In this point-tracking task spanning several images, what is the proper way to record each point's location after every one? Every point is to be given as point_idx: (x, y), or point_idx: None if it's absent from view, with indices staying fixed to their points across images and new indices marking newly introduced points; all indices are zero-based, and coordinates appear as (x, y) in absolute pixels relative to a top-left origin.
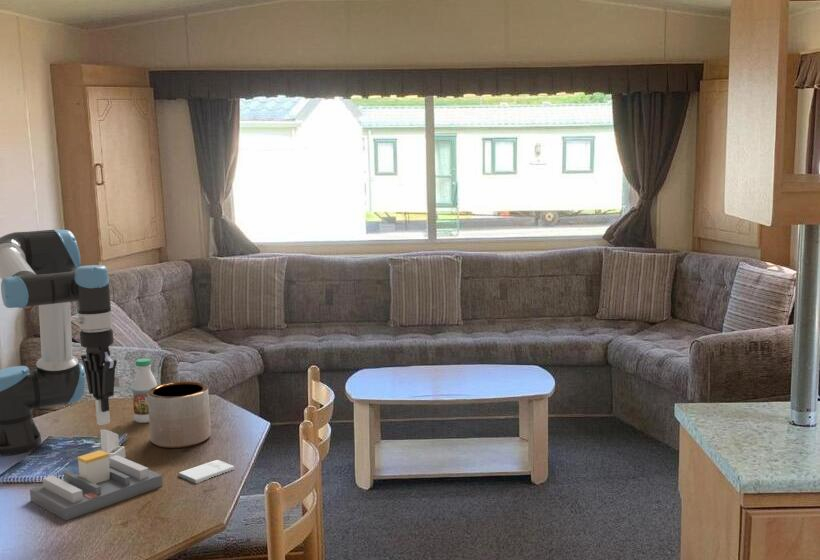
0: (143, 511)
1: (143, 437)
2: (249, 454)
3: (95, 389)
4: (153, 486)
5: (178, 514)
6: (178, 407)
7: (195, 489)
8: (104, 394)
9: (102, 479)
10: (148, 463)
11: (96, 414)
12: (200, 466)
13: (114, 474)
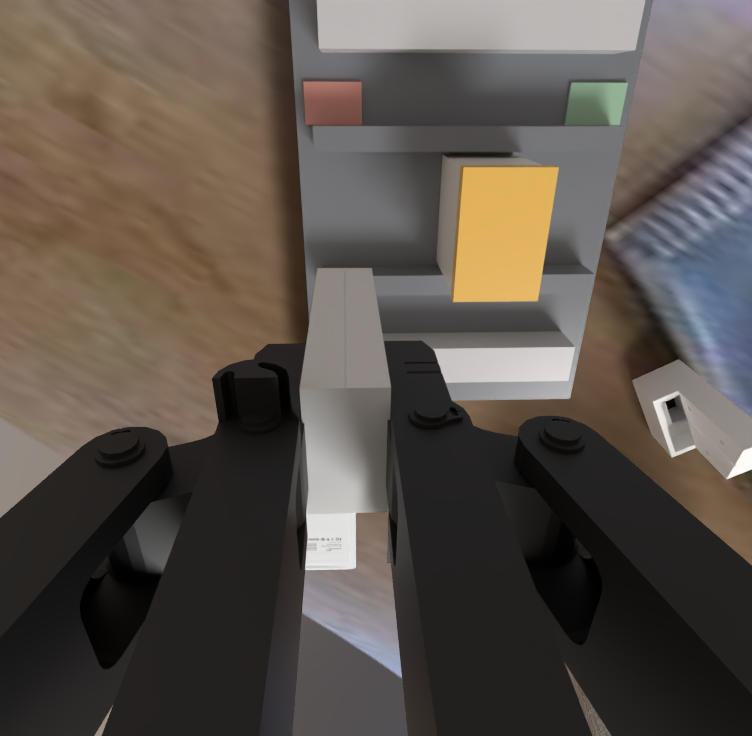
0: (151, 223)
1: (731, 541)
2: (335, 629)
3: (400, 495)
4: None
5: (42, 290)
6: None
7: (209, 429)
8: (59, 471)
9: (439, 229)
10: None
11: (372, 300)
12: (341, 519)
13: (407, 274)
